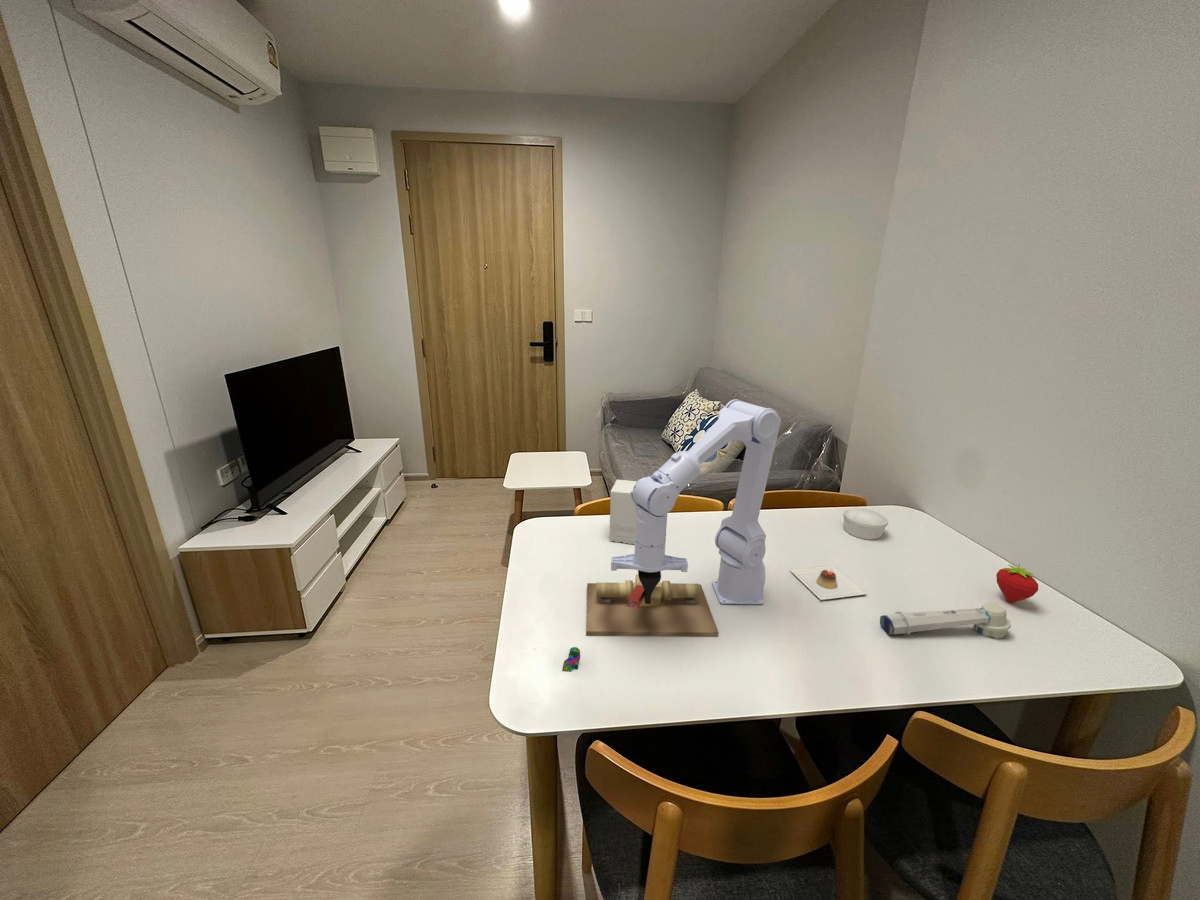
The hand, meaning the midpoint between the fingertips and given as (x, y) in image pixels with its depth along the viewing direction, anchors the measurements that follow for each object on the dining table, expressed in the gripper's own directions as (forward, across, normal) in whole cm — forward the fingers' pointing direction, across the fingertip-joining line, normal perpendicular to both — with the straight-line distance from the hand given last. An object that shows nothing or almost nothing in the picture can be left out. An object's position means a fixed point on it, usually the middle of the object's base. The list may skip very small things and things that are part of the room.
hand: (646, 600), depth 93 cm
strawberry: (+7, -83, -12) cm, 84 cm away
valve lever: (0, +1, -3) cm, 3 cm away
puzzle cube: (+7, +14, +10) cm, 18 cm away
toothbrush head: (+7, -61, -2) cm, 61 cm away
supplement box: (+7, +2, -37) cm, 38 cm away
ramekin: (+7, -66, -44) cm, 79 cm away
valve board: (+6, -1, -6) cm, 8 cm away
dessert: (+8, -44, -17) cm, 48 cm away
